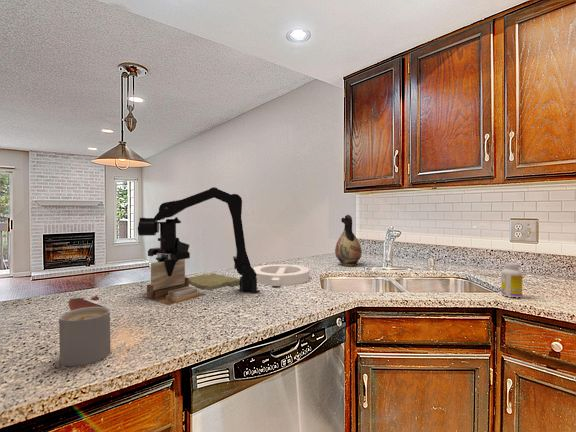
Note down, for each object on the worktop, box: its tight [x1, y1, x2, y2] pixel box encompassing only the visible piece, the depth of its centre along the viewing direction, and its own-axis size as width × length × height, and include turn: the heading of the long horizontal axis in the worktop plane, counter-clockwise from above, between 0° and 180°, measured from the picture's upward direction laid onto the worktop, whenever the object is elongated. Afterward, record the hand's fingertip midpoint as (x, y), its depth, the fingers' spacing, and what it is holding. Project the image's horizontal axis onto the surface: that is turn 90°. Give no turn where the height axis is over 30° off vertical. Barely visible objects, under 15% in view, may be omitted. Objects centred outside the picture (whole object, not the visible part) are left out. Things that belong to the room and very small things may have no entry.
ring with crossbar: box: [252, 263, 311, 287], centre depth 157 cm, size 28×28×5 cm
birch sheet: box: [150, 259, 186, 291], centre depth 125 cm, size 1×14×10 cm, turn 145°
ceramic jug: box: [334, 214, 363, 267], centre depth 192 cm, size 17×15×30 cm
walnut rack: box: [142, 276, 207, 306], centre depth 122 cm, size 16×17×6 cm
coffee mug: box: [58, 306, 111, 367], centre depth 77 cm, size 13×10×10 cm
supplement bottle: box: [500, 262, 523, 298], centre depth 126 cm, size 7×7×13 cm
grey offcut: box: [168, 285, 198, 297], centre depth 120 cm, size 5×9×2 cm, turn 145°
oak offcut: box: [166, 291, 200, 303], centre depth 120 cm, size 6×10×2 cm, turn 145°
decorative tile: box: [188, 272, 240, 291], centre depth 143 cm, size 19×20×4 cm
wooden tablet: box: [68, 294, 104, 311], centre depth 111 cm, size 27×10×2 cm, turn 37°
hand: (168, 275), depth 125 cm, fingers closed on birch sheet, 1 cm apart
